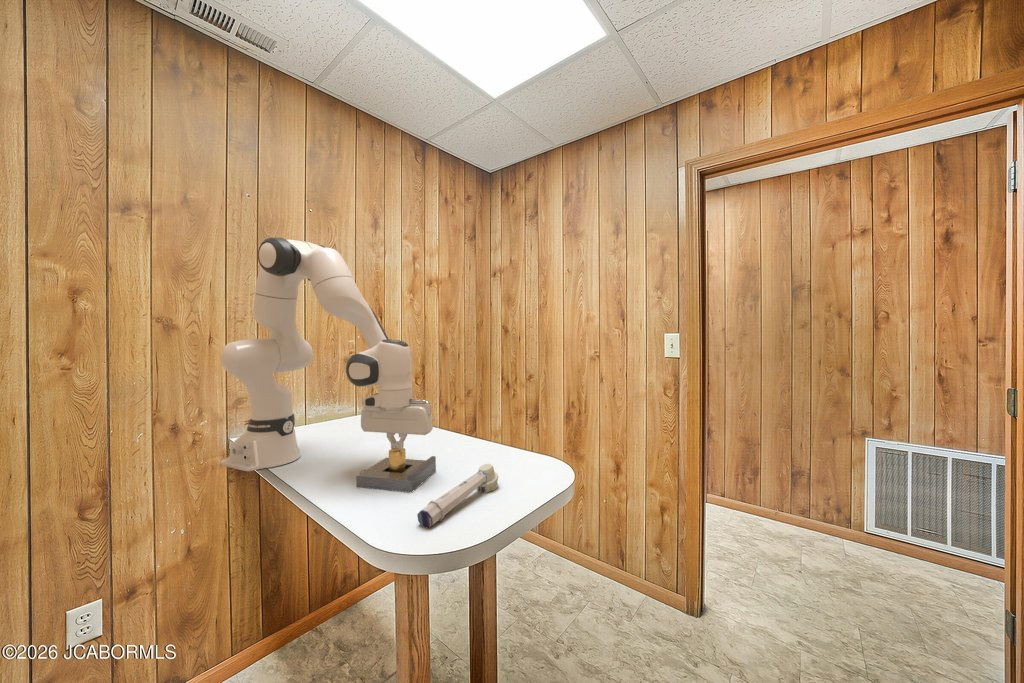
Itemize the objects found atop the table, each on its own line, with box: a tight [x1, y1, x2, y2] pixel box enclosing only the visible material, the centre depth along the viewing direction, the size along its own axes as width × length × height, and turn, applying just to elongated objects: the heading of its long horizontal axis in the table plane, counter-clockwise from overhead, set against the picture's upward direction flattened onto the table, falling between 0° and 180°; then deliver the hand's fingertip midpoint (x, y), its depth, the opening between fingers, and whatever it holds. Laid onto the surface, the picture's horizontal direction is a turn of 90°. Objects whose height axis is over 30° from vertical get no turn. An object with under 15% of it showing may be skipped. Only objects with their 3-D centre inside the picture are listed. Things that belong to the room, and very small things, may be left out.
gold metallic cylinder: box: [388, 447, 407, 473], centre depth 101 cm, size 4×4×8 cm
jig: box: [355, 455, 437, 493], centre depth 101 cm, size 16×14×4 cm
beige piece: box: [416, 463, 499, 529], centre depth 87 cm, size 5×7×25 cm
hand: (397, 448), depth 101 cm, fingers closed
